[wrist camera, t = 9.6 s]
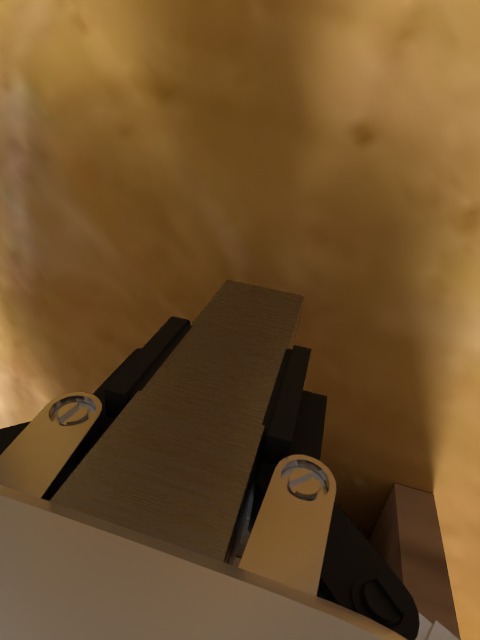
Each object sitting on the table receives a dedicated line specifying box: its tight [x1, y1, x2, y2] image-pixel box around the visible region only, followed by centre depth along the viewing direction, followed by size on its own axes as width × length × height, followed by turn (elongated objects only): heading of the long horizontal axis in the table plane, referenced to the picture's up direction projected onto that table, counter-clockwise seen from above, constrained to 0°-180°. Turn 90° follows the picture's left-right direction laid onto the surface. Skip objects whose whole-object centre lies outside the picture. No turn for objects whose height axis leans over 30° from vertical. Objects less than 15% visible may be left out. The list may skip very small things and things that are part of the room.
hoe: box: [49, 280, 304, 566], centre depth 13 cm, size 14×5×12 cm, turn 174°
